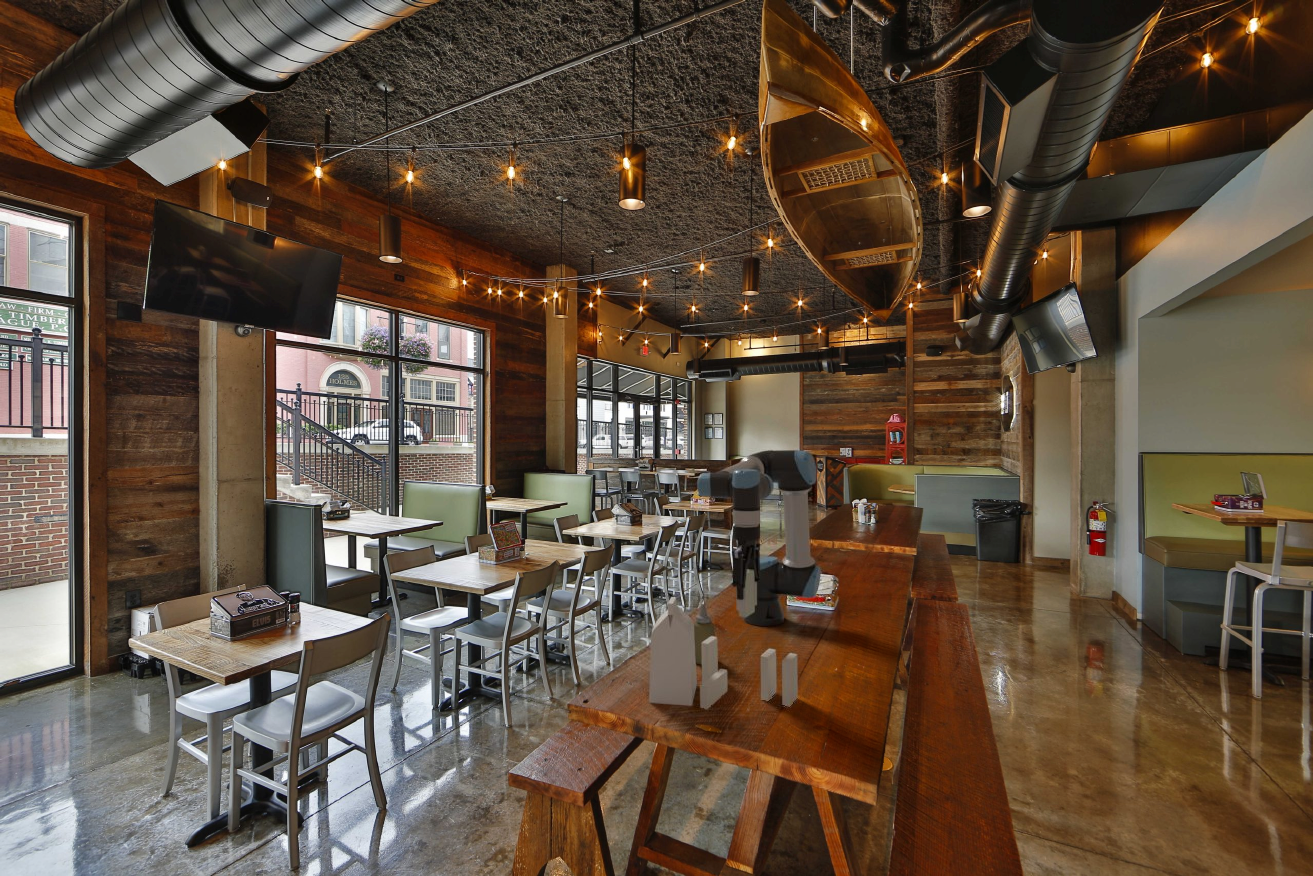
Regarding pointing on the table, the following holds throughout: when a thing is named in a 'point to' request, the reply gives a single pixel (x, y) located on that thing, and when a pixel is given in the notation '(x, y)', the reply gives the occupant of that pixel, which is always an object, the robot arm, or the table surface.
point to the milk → (673, 658)
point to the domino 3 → (749, 594)
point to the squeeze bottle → (702, 631)
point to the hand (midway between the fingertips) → (746, 607)
